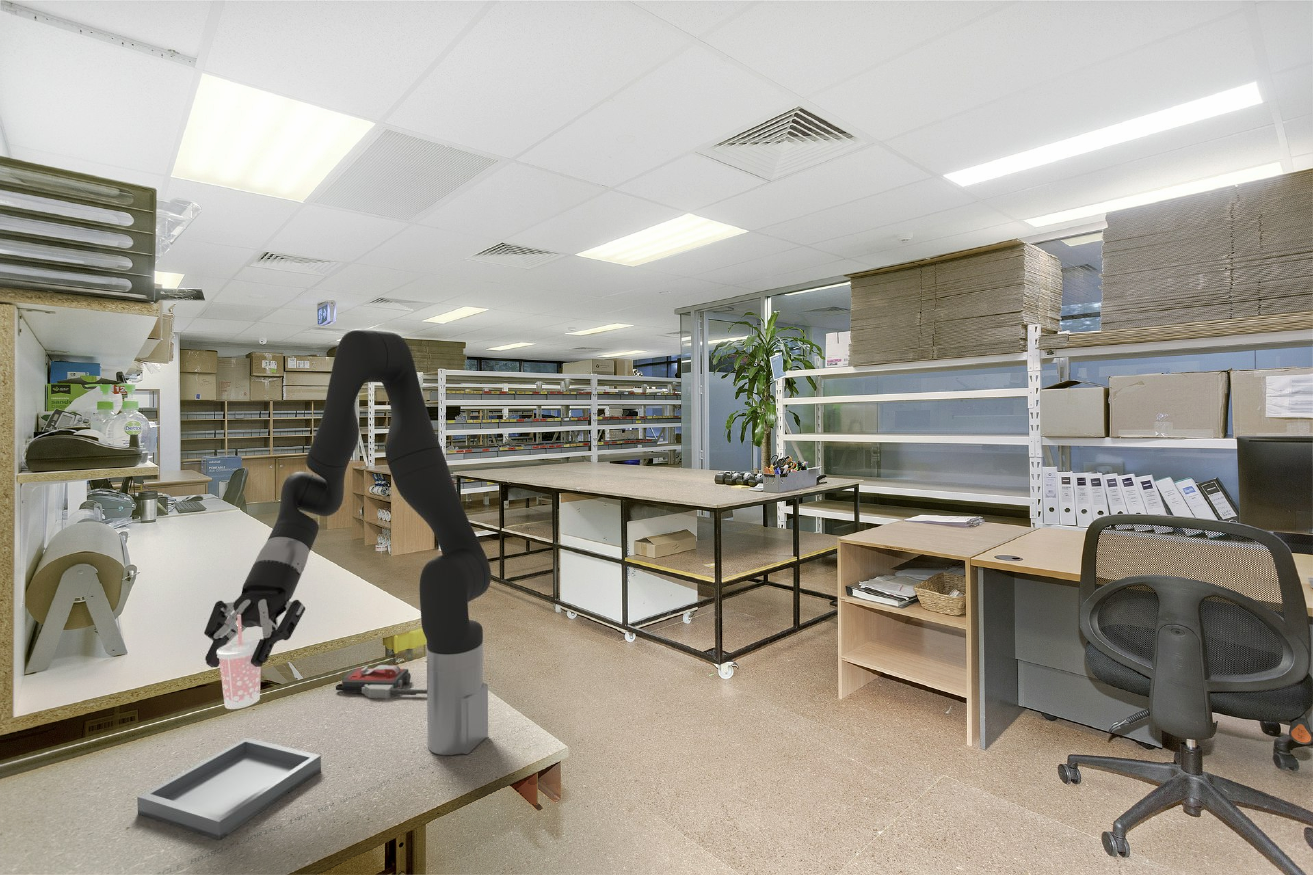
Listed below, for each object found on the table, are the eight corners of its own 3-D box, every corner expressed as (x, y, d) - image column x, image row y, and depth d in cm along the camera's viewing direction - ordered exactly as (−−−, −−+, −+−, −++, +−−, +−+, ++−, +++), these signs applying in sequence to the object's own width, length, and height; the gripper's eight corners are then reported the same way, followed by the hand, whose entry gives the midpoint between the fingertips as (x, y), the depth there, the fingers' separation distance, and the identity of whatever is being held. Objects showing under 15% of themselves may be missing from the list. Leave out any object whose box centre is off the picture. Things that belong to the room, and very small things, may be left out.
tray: (321, 770, 94) (320, 755, 94) (219, 839, 78) (219, 821, 78) (246, 751, 98) (246, 737, 98) (137, 813, 83) (137, 796, 83)
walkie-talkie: (328, 699, 117) (428, 701, 117) (328, 678, 117) (427, 679, 117) (352, 679, 126) (444, 681, 126) (352, 659, 126) (444, 660, 125)
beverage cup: (274, 692, 96) (271, 608, 96) (248, 711, 90) (245, 622, 89) (237, 692, 96) (233, 608, 96) (208, 711, 90) (204, 622, 89)
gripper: (224, 558, 99) (171, 656, 88) (310, 557, 100) (269, 654, 89) (246, 580, 105) (199, 675, 94) (328, 579, 105) (291, 673, 94)
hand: (233, 664), depth 91 cm, fingers closed on beverage cup, 6 cm apart
